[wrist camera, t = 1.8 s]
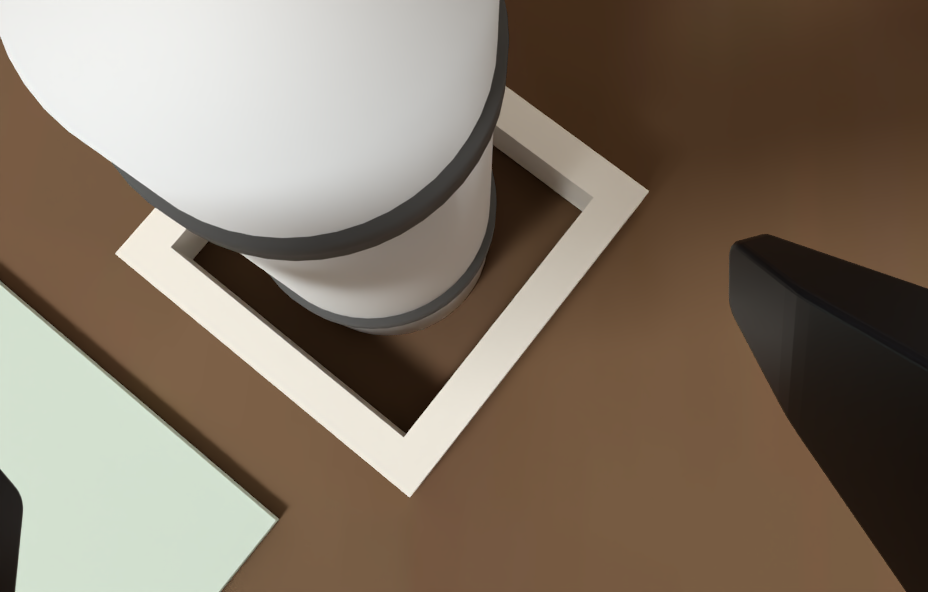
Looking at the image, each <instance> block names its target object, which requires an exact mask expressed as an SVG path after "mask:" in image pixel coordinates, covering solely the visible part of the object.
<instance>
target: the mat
mask: <svg viewBox="0 0 928 592" xmlns="http://www.w3.org/2000/svg"><path fill="white" fill-rule="evenodd" d="M0 469H1V470H2V471H3V473H4V474H5V475H6V476H7V477H8V479H9V480H10V481H11V482H12V483H13V484H14V486H15V487H16V488H17V490H18V491H19V493H20V495H21V498H22V502H23V518H22V528H21V539H20V549H19V559H18V569H17V579H16V589H15V592H221V591H222V590H223V589H224V587H225V586H226V585H227V584H228V582H229V581H230V580H231V579H232V577H233V576H234V575H235V574H236V572H237V571H238V570H239V569H240V567H241V566H242V565H243V564H244V562H245V561H246V560H247V559H248V557H249V556H250V555H251V554H252V552H253V551H254V550H255V549H256V547H257V546H258V545H259V544H260V542H261V541H262V540H263V539H264V537H265V536H266V535H267V534H268V532H269V531H270V530H271V529H272V528H273V526H274V525H275V524H276V523H277V521H278V520H279V519H278V518H277V517H276V516H275V515H274V514H273V513H271V512H270V511H269V510H268V509H267V508H266V507H264V506H263V505H262V504H261V503H260V502H259V501H257V500H256V499H255V498H254V497H253V496H251V495H250V494H249V493H248V492H247V491H246V490H244V489H243V488H242V487H241V486H240V485H239V484H237V483H236V482H235V481H234V480H233V479H232V478H230V477H229V476H228V475H227V474H226V473H225V472H223V471H222V470H221V469H220V468H219V467H218V466H216V465H215V464H214V463H213V462H212V461H211V460H209V459H208V458H207V457H206V456H205V455H204V454H202V453H201V452H200V451H199V450H198V449H196V448H195V447H194V446H193V445H192V444H191V443H189V442H188V441H187V440H186V439H185V438H184V437H182V436H181V435H180V434H179V433H178V432H177V431H175V430H174V429H173V428H172V427H171V426H170V425H168V424H167V423H166V422H165V421H164V420H163V419H161V418H160V417H159V416H158V415H157V414H156V413H154V412H153V411H152V410H151V409H150V408H148V407H147V406H146V405H145V404H144V403H143V402H141V401H140V400H139V399H138V398H137V397H136V396H134V395H133V394H132V393H131V392H130V391H129V390H127V389H126V388H125V387H124V386H123V385H122V384H120V383H119V382H118V381H117V380H116V379H115V378H113V377H112V376H111V375H110V374H109V373H108V372H106V371H105V370H104V369H103V368H102V367H100V366H99V365H98V364H97V363H96V362H95V361H93V360H92V359H91V358H90V357H89V356H88V355H86V354H85V353H84V352H83V351H82V350H81V349H79V348H78V347H77V346H76V345H75V344H74V343H72V342H71V341H70V340H69V339H68V338H67V337H65V336H64V335H63V334H62V333H61V332H60V331H58V330H57V329H56V328H55V327H54V326H53V325H51V324H50V323H49V322H48V321H47V320H45V319H44V318H43V317H42V316H41V315H40V314H38V313H37V312H36V311H35V310H34V309H33V308H31V307H30V306H29V305H28V304H27V303H26V302H24V301H23V300H22V299H21V298H20V297H19V296H17V295H16V294H15V293H14V292H13V291H12V290H10V289H9V288H8V287H7V286H6V285H5V284H3V283H2V282H1V281H0Z"/></svg>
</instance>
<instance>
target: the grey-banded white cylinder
mask: <svg viewBox="0 0 928 592" xmlns="http://www.w3.org/2000/svg"><path fill="white" fill-rule="evenodd" d="M0 36H1V39H2V41H3V44H4V46H5V49H6V51H7V54H8V57H9V58H10V60H11V62H12V63H13V65H14V67H15V69H16V70H17V72H18V74H19V76H20V77H21V79H22V81H23V82H24V84H25V85H26V87H27V88H28V89H29V90H30V92H31V93H32V94H33V95H34V97H35V98H36V99H37V100H38V102H39V103H40V104H41V105H42V107H43V108H44V109H45V110H46V111H47V112H48V113H49V114H50V115H51V116H52V117H54V118H55V119H56V120H57V121H58V122H59V123H60V124H61V125H62V126H63V127H64V128H65V129H66V130H67V131H69V132H70V133H72V134H73V135H74V136H76V137H77V138H79V139H80V140H81V141H83V142H84V143H86V144H87V145H88V146H90V147H91V148H93V149H94V150H95V151H97V152H98V153H100V154H101V155H102V156H104V157H105V158H107V159H108V160H109V161H111V162H112V164H113V165H114V166H115V168H116V169H117V170H118V171H119V173H120V174H121V175H122V176H123V178H124V179H125V180H126V181H127V183H128V184H129V185H130V186H131V187H132V188H133V189H134V190H136V191H137V192H138V193H139V194H140V195H141V196H142V197H143V198H144V199H145V200H146V201H147V202H148V203H150V204H151V205H152V206H154V207H155V208H157V209H158V210H160V211H161V212H162V213H164V214H165V215H167V216H168V217H170V218H171V219H172V220H174V221H175V222H177V223H178V224H180V225H181V226H183V227H184V228H186V229H187V230H189V231H190V232H192V233H194V234H196V235H198V236H200V237H202V238H204V239H206V240H207V241H209V242H211V243H213V244H215V245H218V246H221V247H224V248H226V249H229V250H232V251H235V252H238V253H240V254H242V255H243V256H244V257H246V258H247V259H249V260H250V261H251V262H253V263H254V264H256V265H257V266H258V267H260V268H261V269H263V270H264V271H266V272H267V273H268V274H269V275H270V276H271V277H272V279H273V280H274V281H275V282H276V283H277V285H278V286H279V287H280V288H281V289H282V290H283V291H284V292H285V293H286V294H287V295H289V296H290V297H291V298H292V299H293V300H295V301H296V302H298V303H299V304H300V305H302V306H303V307H305V308H306V309H308V310H309V311H311V312H312V313H314V314H316V315H318V316H320V317H322V318H324V319H326V320H329V321H332V322H335V323H338V324H340V325H344V326H346V327H348V328H351V329H353V330H356V331H359V332H363V333H368V334H372V335H384V336H388V335H401V334H407V333H412V332H415V331H418V330H422V329H425V328H427V327H429V326H431V325H433V324H435V323H437V322H439V321H440V320H442V319H444V318H445V317H447V316H448V315H449V314H450V313H452V312H453V311H454V310H455V309H456V308H458V307H459V306H460V304H461V303H462V302H463V301H464V300H465V299H466V298H467V297H468V295H469V294H470V292H471V291H472V289H473V288H474V286H475V285H476V283H477V281H478V279H479V277H480V275H481V272H482V269H483V266H484V264H485V259H486V256H487V253H488V250H489V247H490V244H491V242H492V237H493V232H494V228H495V217H496V204H497V201H496V186H495V181H494V176H493V171H492V149H493V132H494V129H495V126H496V124H497V121H498V118H499V115H500V111H501V107H502V102H503V98H504V93H505V86H506V73H507V60H508V47H509V32H508V16H507V10H506V5H505V0H0Z"/></svg>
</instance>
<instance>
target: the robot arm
mask: <svg viewBox="0 0 928 592" xmlns="http://www.w3.org/2000/svg"><path fill="white" fill-rule="evenodd" d="M729 302H730V307H731V311H732V313H733V316H734V318H735V320H736V322H737V324H738V326H739V328H740V330H741V331H742V333H743V335H744V337H745V339H746V341H747V343H748V345H749V347H750V349H751V351H752V353H753V354H754V356H755V358H756V360H757V362H758V364H759V366H760V368H761V370H762V372H763V374H764V375H765V377H766V379H767V381H768V383H769V385H770V387H771V389H772V391H773V393H774V395H775V396H776V398H777V400H778V402H779V404H780V406H781V408H782V409H783V411H784V413H785V415H786V416H787V418H788V420H789V421H790V423H791V424H792V426H793V427H794V429H795V431H796V432H797V434H798V435H799V437H800V438H801V440H802V441H803V442H804V444H805V445H806V447H807V448H808V450H809V451H810V453H811V454H812V456H813V457H814V458H815V460H816V461H817V463H818V464H819V466H820V467H821V469H822V470H823V472H824V473H825V474H826V476H827V477H828V479H829V480H830V482H831V483H832V485H833V486H834V488H835V489H836V490H837V492H838V493H839V495H840V496H841V498H842V499H843V501H844V502H845V504H846V505H847V506H848V508H849V509H850V511H851V512H852V514H853V515H854V517H855V518H856V520H857V521H858V522H859V524H860V525H861V527H862V528H863V530H864V531H865V533H866V534H867V536H868V537H869V538H870V540H871V541H872V543H873V544H874V546H875V547H876V549H877V550H878V552H879V553H880V554H881V556H882V557H883V559H884V560H885V562H886V563H887V565H888V566H889V568H890V569H891V570H892V572H893V573H894V575H895V576H896V578H897V579H898V581H899V582H900V584H901V585H902V586H903V588H904V589H905V591H906V592H928V289H927V288H924V287H921V286H918V285H916V284H913V283H910V282H907V281H904V280H901V279H898V278H895V277H892V276H889V275H886V274H883V273H880V272H878V271H875V270H872V269H869V268H866V267H863V266H860V265H857V264H854V263H851V262H848V261H845V260H842V259H839V258H837V257H834V256H831V255H828V254H825V253H822V252H819V251H816V250H813V249H810V248H807V247H804V246H801V245H799V244H796V243H793V242H790V241H787V240H784V239H781V238H778V237H775V236H772V235H768V234H762V235H758V236H754V237H750V238H747V239H743V240H739V241H736V242H735V243H734V244H733V245H732V246H731V249H730V254H729ZM22 518H23V502H22V498H21V495H20V493H19V491H18V490H17V488H16V487H15V486H14V484H13V483H12V482H11V481H10V480H9V479H8V477H7V476H6V475H5V474H4V473H3V471H2V470H1V469H0V592H15V589H16V579H17V569H18V559H19V549H20V539H21V528H22Z"/></svg>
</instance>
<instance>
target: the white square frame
mask: <svg viewBox="0 0 928 592" xmlns="http://www.w3.org/2000/svg"><path fill="white" fill-rule="evenodd" d="M493 145H494V146H495V147H497V148H498V149H499V150H501V151H502V152H503V153H505V154H506V155H507V156H509V157H510V158H511V159H513V160H514V161H515V162H517V163H518V164H519V165H521V166H522V167H523V168H525V169H526V170H527V171H529V172H530V173H531V174H533V175H534V176H535V177H537V178H538V179H540V180H541V181H542V182H544V183H545V184H546V185H548V186H549V187H550V188H552V189H553V190H554V191H556V192H557V193H558V194H560V195H561V196H562V197H564V198H565V199H566V200H568V201H569V202H570V203H572V204H573V205H574V206H576V207H577V208H578V209H580V210H581V211H582V213H581V214H580V215H579V217H578V218H577V219H576V220H575V222H574V223H573V224H572V225H571V227H570V228H569V229H568V230H567V232H566V233H565V234H564V236H563V237H562V238H561V239H560V241H559V242H558V243H557V244H556V246H555V247H554V248H553V249H552V251H551V252H550V253H549V254H548V256H547V257H546V258H545V260H544V261H543V262H542V263H541V265H540V266H539V267H538V268H537V270H536V271H535V272H534V273H533V275H532V276H531V277H530V278H529V280H528V281H527V282H526V284H525V285H524V286H523V287H522V289H521V290H520V291H519V292H518V294H517V295H516V296H515V297H514V299H513V300H512V301H511V302H510V304H509V305H508V306H507V308H506V309H505V310H504V311H503V313H502V314H501V315H500V316H499V318H498V319H497V320H496V321H495V323H494V324H493V325H492V326H491V328H490V329H489V330H488V332H487V333H486V334H485V335H484V337H483V338H482V339H481V340H480V342H479V343H478V344H477V345H476V347H475V348H474V349H473V350H472V352H471V353H470V354H469V356H468V357H467V358H466V359H465V361H464V362H463V363H462V364H461V366H460V367H459V368H458V369H457V371H456V372H455V373H454V374H453V376H452V377H451V378H450V379H449V381H448V382H447V383H446V385H445V386H444V387H443V388H442V390H441V391H440V392H439V393H438V395H437V396H436V397H435V398H434V400H433V401H432V402H431V403H430V405H429V406H428V407H427V409H426V410H425V411H424V412H423V414H422V415H421V416H420V417H419V419H418V420H417V421H416V422H415V424H414V425H413V426H412V427H411V429H410V430H409V431H408V433H407V434H406V433H405V432H403V431H402V430H401V429H400V428H398V427H397V426H396V425H395V424H394V423H392V422H391V421H390V420H389V419H387V418H386V417H385V416H384V415H382V414H381V413H380V412H379V411H378V410H376V409H375V408H374V407H373V406H371V405H370V404H369V403H368V402H367V401H365V400H364V399H363V398H362V397H360V396H359V395H358V394H357V393H356V392H354V391H353V390H352V389H351V388H349V387H348V386H347V385H346V384H344V383H343V382H342V381H341V380H340V379H338V378H337V377H336V376H335V375H333V374H332V373H331V372H330V371H329V370H327V369H326V368H325V367H324V366H322V365H321V364H320V363H319V362H318V361H316V360H315V359H314V358H313V357H311V356H310V355H309V354H308V353H306V352H305V351H304V350H303V349H302V348H300V347H299V346H298V345H297V344H295V343H294V342H293V341H292V340H291V339H289V338H288V337H287V336H286V335H284V334H283V333H282V332H281V331H280V330H278V329H277V328H276V327H275V326H273V325H272V324H271V323H270V322H268V321H267V320H266V319H265V318H264V317H262V316H261V315H260V314H259V313H257V312H256V311H255V310H254V309H253V308H251V307H250V306H249V305H248V304H246V303H245V302H244V301H243V300H242V299H240V298H239V297H238V296H237V295H235V294H234V293H233V292H232V291H230V290H229V289H228V288H227V287H226V286H224V285H223V284H222V283H221V282H219V281H218V280H217V279H216V278H215V277H213V276H212V275H211V274H210V273H208V272H207V271H206V270H205V269H204V268H202V267H201V266H200V265H199V264H197V263H196V262H195V261H194V260H193V259H194V258H195V256H196V255H197V254H198V253H199V252H200V251H201V249H202V248H203V247H204V246H205V245H206V244H207V242H208V241H207V240H206V239H204V238H202V237H200V236H198V235H196V234H194V233H192V232H190V231H189V230H187V229H186V228H184V227H183V226H181V225H180V224H178V223H177V222H175V221H174V220H172V219H171V218H170V217H168V216H167V215H165V214H164V213H162V212H161V211H160V210H158V209H157V208H155V209H154V210H153V211H152V212H151V213H150V214H149V216H148V217H147V218H146V219H145V220H144V221H143V222H142V224H141V225H140V226H139V227H138V228H137V229H136V230H135V232H134V233H133V234H132V235H131V236H130V237H129V238H128V240H127V241H126V242H125V243H124V244H123V245H122V246H121V248H120V249H119V250H118V251H117V252H116V253H115V254H116V255H117V256H119V257H120V258H121V259H122V260H123V261H125V262H126V263H127V264H128V265H129V266H131V267H132V268H133V269H134V270H135V271H137V272H138V273H139V274H140V275H142V276H143V277H144V278H145V279H146V280H148V281H149V282H150V283H151V284H152V285H154V286H155V287H156V288H157V289H158V290H160V291H161V292H162V293H163V294H164V295H166V296H167V297H168V298H169V299H171V300H172V301H173V302H174V303H175V304H177V305H178V306H179V307H180V308H181V309H183V310H184V311H185V312H186V313H187V314H189V315H190V316H191V317H192V318H193V319H195V320H196V321H197V322H198V323H200V324H201V325H202V326H203V327H204V328H206V329H207V330H208V331H209V332H210V333H212V334H213V335H214V336H215V337H216V338H218V339H219V340H220V341H221V342H222V343H224V344H225V345H226V346H227V347H228V348H230V349H231V350H232V351H233V352H235V353H236V354H237V355H238V356H239V357H241V358H242V359H243V360H244V361H245V362H247V363H248V364H249V365H250V366H251V367H253V368H254V369H255V370H256V371H257V372H259V373H260V374H261V375H262V376H264V377H265V378H266V379H267V380H268V381H270V382H271V383H272V384H273V385H274V386H276V387H277V388H278V389H279V390H280V391H282V392H283V393H284V394H285V395H286V396H288V397H289V398H290V399H291V400H293V401H294V402H295V403H296V404H297V405H299V406H300V407H301V408H302V409H303V410H305V411H306V412H307V413H308V414H309V415H311V416H312V417H313V418H314V419H315V420H317V421H318V422H319V423H320V424H322V425H323V426H324V427H325V428H326V429H328V430H329V431H330V432H331V433H332V434H334V435H335V436H336V437H337V438H338V439H340V440H341V441H342V442H343V443H344V444H346V445H347V446H348V447H349V448H350V449H352V450H353V451H354V452H355V453H357V454H358V455H359V456H360V457H361V458H363V459H364V460H365V461H366V462H367V463H369V464H370V465H371V466H372V467H373V468H375V469H376V470H377V471H378V472H379V473H381V474H382V475H383V476H384V477H386V478H387V479H388V480H389V481H390V482H392V483H393V484H394V485H395V486H396V487H398V488H399V489H400V490H401V491H402V492H404V493H405V494H406V495H407V496H408V497H411V496H412V494H413V493H414V492H415V491H416V490H417V489H418V487H419V486H420V485H421V484H422V482H423V481H424V480H425V478H426V477H427V476H428V475H429V473H430V472H431V471H432V469H433V468H434V467H435V466H436V464H437V463H438V462H439V460H440V459H441V458H442V457H443V455H444V454H445V453H446V452H447V450H448V449H449V448H450V446H451V445H452V444H453V443H454V441H455V440H456V439H457V437H458V436H459V435H460V434H461V432H462V431H463V430H464V429H465V427H466V426H467V425H468V423H469V422H470V421H471V420H472V418H473V417H474V416H475V414H476V413H477V412H478V411H479V409H480V408H481V407H482V405H483V404H484V403H485V402H486V400H487V399H488V398H489V397H490V395H491V394H492V393H493V391H494V390H495V389H496V388H497V386H498V385H499V384H500V382H501V381H502V380H503V379H504V377H505V376H506V375H507V373H508V372H509V371H510V370H511V368H512V367H513V366H514V365H515V363H516V362H517V361H518V359H519V358H520V357H521V356H522V354H523V353H524V352H525V350H526V349H527V348H528V347H529V345H530V344H531V343H532V342H533V340H534V339H535V338H536V336H537V335H538V334H539V333H540V331H541V330H542V329H543V327H544V326H545V325H546V324H547V322H548V321H549V320H550V318H551V317H552V316H553V315H554V313H555V312H556V311H557V310H558V308H559V307H560V306H561V304H562V303H563V302H564V301H565V299H566V298H567V297H568V295H569V294H570V293H571V292H572V290H573V289H574V288H575V286H576V285H577V284H578V283H579V281H580V280H581V279H582V278H583V276H584V275H585V274H586V272H587V271H588V270H589V269H590V267H591V266H592V265H593V263H594V262H595V261H596V260H597V258H598V257H599V256H600V254H601V253H602V252H603V251H604V249H605V248H606V247H607V246H608V244H609V243H610V242H611V240H612V239H613V238H614V237H615V235H616V234H617V233H618V231H619V230H620V229H621V228H622V226H623V225H624V224H625V223H626V221H627V220H628V219H629V217H630V216H631V215H632V214H633V212H634V211H635V210H636V208H637V207H638V206H639V204H640V203H641V202H642V200H643V199H644V198H645V196H646V195H647V193H648V192H649V191H648V190H647V189H646V188H644V187H643V186H641V185H640V184H639V183H637V182H636V181H635V180H633V179H632V178H631V177H629V176H628V175H626V174H625V173H624V172H622V171H621V170H620V169H618V168H617V167H616V166H614V165H613V164H611V163H610V162H609V161H607V160H606V159H605V158H603V157H602V156H601V155H599V154H598V153H596V152H595V151H594V150H592V149H591V148H590V147H588V146H587V145H585V144H584V143H583V142H581V141H580V140H579V139H577V138H576V137H575V136H573V135H572V134H570V133H569V132H568V131H566V130H565V129H564V128H562V127H561V126H560V125H558V124H557V123H555V122H554V121H553V120H551V119H550V118H549V117H547V116H546V115H545V114H543V113H542V112H540V111H539V110H538V109H536V108H535V107H534V106H532V105H531V104H529V103H528V102H527V101H525V100H524V99H523V98H521V97H520V96H519V95H517V94H516V93H514V92H513V91H512V90H510V89H509V88H508V87H506V86H505V93H504V98H503V102H502V107H501V111H500V115H499V118H498V121H497V124H496V126H495V129H494V132H493Z"/></svg>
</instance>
